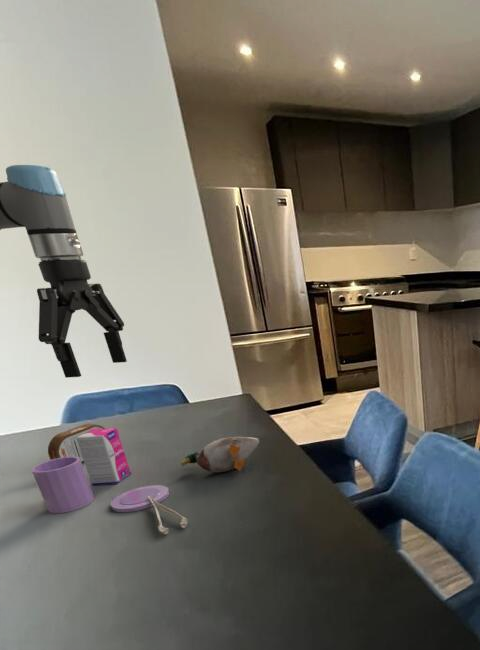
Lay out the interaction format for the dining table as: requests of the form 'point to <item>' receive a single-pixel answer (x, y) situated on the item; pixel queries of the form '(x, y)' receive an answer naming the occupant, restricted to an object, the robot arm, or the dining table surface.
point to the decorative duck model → (224, 454)
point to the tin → (69, 442)
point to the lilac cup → (63, 484)
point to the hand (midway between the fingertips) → (98, 369)
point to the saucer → (139, 498)
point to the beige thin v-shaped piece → (171, 512)
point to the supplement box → (103, 456)
